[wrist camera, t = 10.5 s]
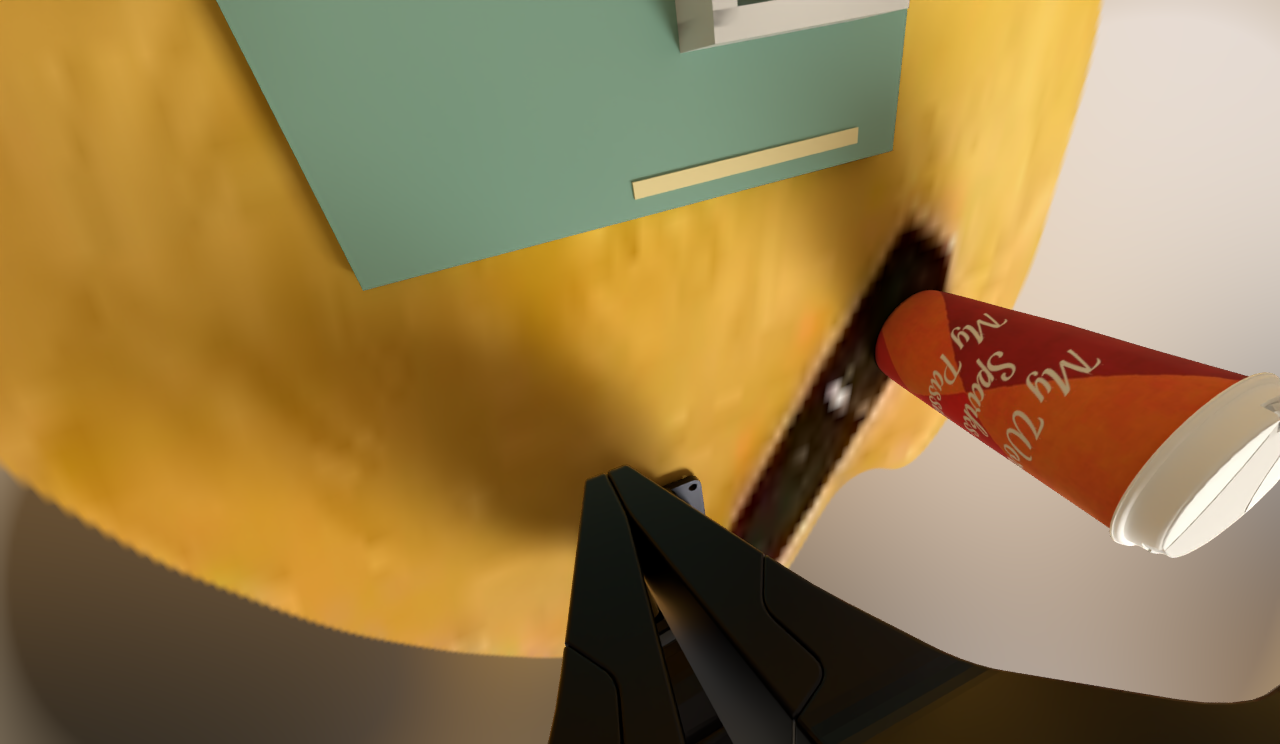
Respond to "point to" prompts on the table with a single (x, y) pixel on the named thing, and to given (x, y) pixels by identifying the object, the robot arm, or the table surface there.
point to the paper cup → (1094, 415)
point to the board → (558, 110)
